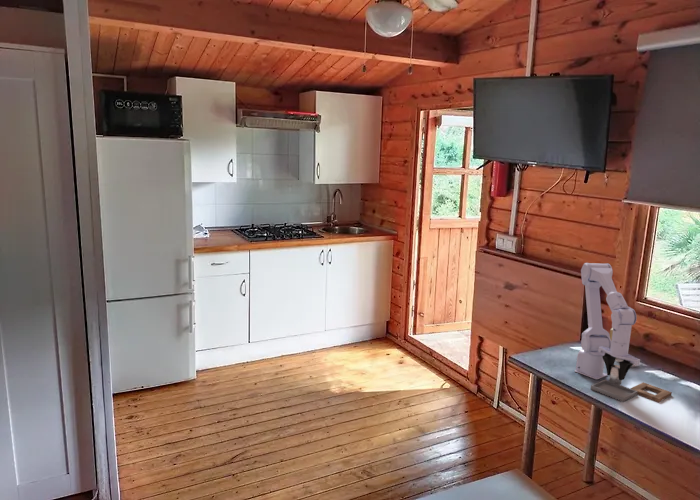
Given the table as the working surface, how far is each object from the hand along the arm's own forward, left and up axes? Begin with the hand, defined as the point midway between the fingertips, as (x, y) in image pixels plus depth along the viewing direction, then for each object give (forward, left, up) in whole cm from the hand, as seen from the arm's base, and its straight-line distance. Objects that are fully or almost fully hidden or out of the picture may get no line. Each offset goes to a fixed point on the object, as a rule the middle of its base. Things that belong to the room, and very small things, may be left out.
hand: (615, 377), depth 191 cm
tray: (0, 0, -6) cm, 6 cm away
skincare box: (-19, +37, -6) cm, 42 cm away
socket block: (+8, +11, -6) cm, 15 cm away
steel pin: (0, 0, -2) cm, 2 cm away
